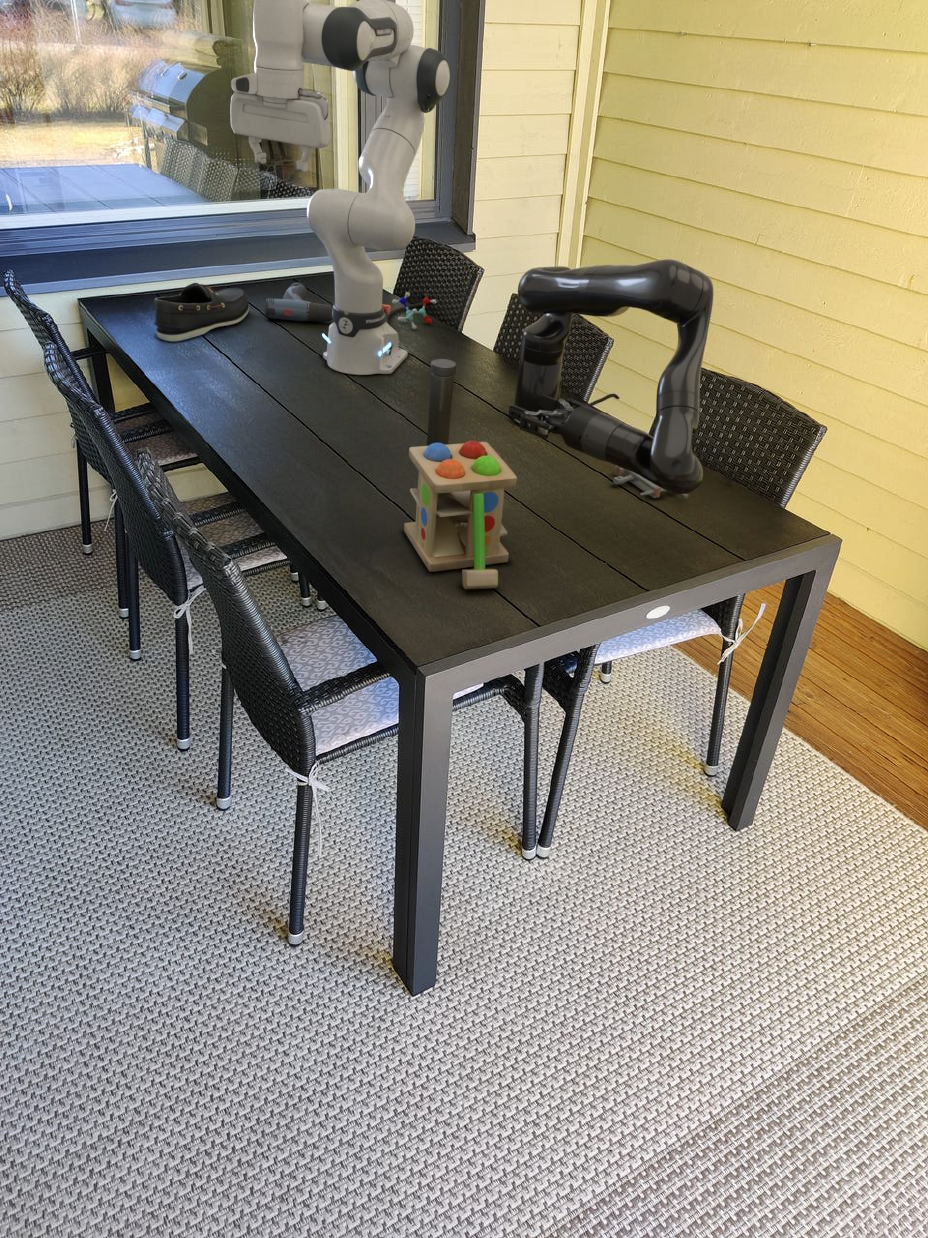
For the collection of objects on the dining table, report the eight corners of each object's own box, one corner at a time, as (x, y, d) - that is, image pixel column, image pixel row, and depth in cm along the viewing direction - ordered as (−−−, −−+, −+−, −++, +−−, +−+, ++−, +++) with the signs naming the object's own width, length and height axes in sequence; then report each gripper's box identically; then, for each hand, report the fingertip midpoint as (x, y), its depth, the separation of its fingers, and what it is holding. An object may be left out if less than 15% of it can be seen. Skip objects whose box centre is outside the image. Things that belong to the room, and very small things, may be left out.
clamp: (603, 467, 195) (642, 459, 200) (601, 477, 197) (640, 469, 201) (650, 500, 185) (691, 491, 190) (648, 510, 186) (688, 501, 191)
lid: (458, 376, 188) (459, 367, 187) (434, 376, 187) (435, 367, 186) (451, 367, 192) (451, 358, 191) (427, 367, 191) (428, 359, 190)
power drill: (344, 304, 276) (335, 327, 259) (277, 298, 275) (264, 321, 258) (344, 285, 273) (335, 306, 256) (277, 279, 272) (264, 300, 255)
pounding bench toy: (528, 589, 159) (542, 490, 149) (446, 600, 155) (455, 499, 145) (478, 522, 177) (488, 429, 167) (403, 530, 172) (408, 435, 162)
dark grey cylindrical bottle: (450, 459, 198) (457, 369, 188) (429, 460, 197) (435, 369, 186) (443, 449, 202) (450, 361, 191) (423, 451, 200) (429, 361, 190)
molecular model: (429, 321, 258) (417, 284, 257) (398, 334, 262) (385, 297, 260) (444, 323, 268) (432, 287, 267) (414, 335, 272) (402, 300, 271)
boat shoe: (267, 317, 262) (265, 277, 257) (175, 343, 238) (170, 300, 233) (232, 308, 268) (229, 269, 262) (138, 333, 244) (133, 291, 238)
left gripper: (337, 91, 179) (336, 173, 186) (244, 76, 185) (247, 156, 193) (319, 93, 174) (319, 177, 182) (223, 78, 180) (227, 160, 188)
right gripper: (624, 404, 171) (553, 376, 180) (574, 423, 162) (501, 393, 171) (617, 444, 176) (547, 415, 184) (568, 465, 167) (497, 433, 175)
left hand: (281, 166), depth 187 cm, fingers open, 8 cm apart
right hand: (525, 404), depth 178 cm, fingers open, 8 cm apart
